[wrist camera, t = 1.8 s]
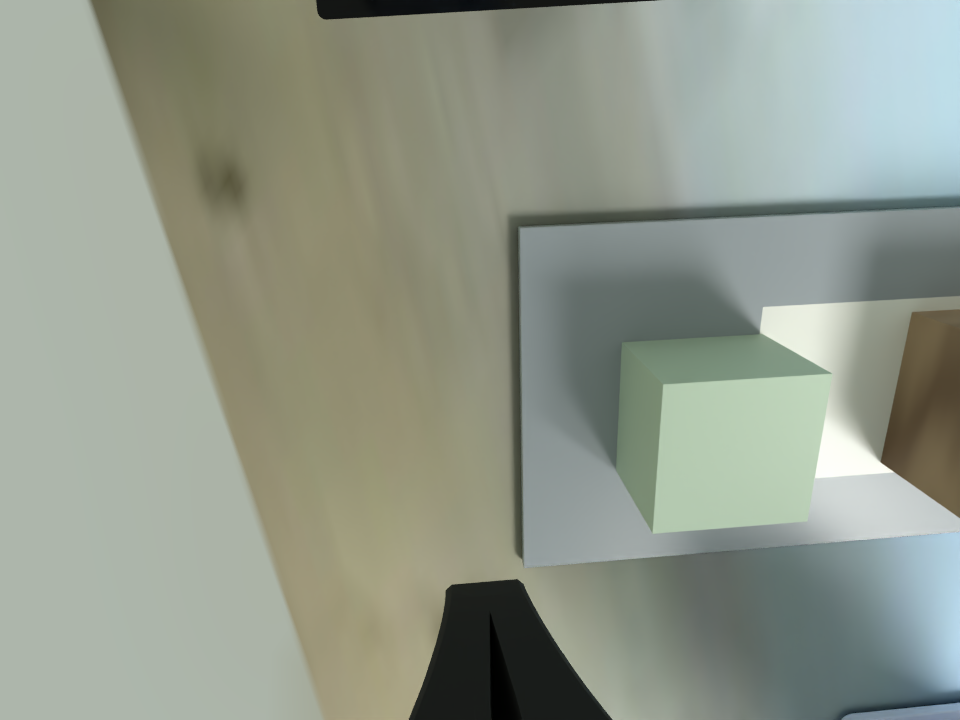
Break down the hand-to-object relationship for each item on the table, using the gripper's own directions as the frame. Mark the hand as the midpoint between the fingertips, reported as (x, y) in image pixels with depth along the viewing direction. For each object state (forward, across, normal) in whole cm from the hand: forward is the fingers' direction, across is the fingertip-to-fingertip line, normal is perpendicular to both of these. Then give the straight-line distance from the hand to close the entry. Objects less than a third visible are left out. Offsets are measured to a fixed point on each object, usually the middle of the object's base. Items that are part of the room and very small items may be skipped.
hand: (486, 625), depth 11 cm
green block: (+9, -8, 0) cm, 12 cm away
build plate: (+9, -12, 0) cm, 16 cm away
